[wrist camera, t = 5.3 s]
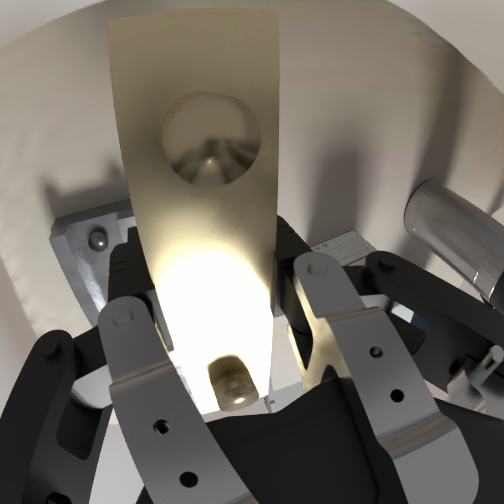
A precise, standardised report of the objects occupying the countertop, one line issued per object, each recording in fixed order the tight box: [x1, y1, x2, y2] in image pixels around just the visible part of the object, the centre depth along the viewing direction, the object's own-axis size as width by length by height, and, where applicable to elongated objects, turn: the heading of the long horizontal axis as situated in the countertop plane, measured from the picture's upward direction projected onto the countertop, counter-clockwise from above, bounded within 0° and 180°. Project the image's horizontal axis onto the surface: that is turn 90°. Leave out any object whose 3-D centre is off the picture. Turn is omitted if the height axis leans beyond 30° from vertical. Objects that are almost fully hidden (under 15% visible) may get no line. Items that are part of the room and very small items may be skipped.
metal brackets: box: [49, 199, 192, 394], centre depth 29 cm, size 8×28×4 cm, turn 1°
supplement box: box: [311, 230, 414, 323], centre depth 32 cm, size 7×7×13 cm
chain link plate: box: [108, 8, 279, 414], centre depth 9 cm, size 3×14×6 cm, turn 1°
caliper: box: [264, 371, 277, 413], centre depth 47 cm, size 20×1×6 cm, turn 5°
